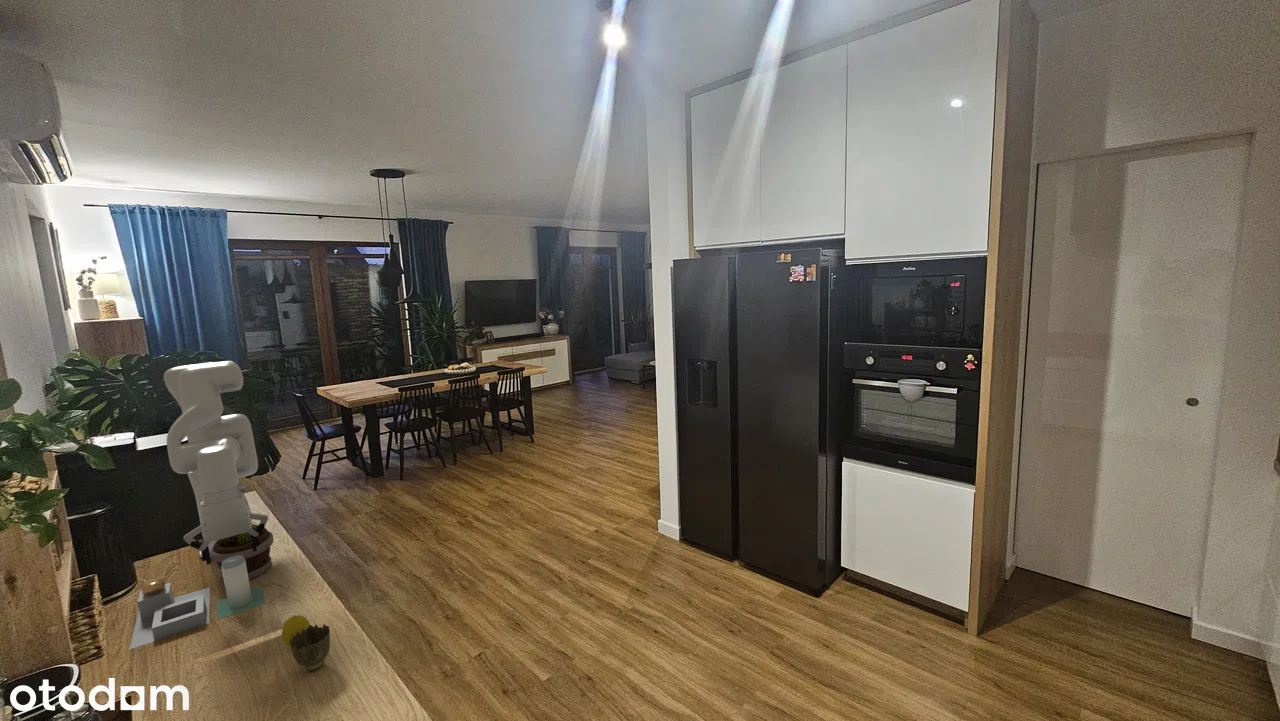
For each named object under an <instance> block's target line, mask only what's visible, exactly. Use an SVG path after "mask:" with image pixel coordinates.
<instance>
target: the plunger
mask: <svg viewBox="0 0 1280 721" xmlns="http://www.w3.org/2000/svg"><path fill="white" fill-rule="evenodd" d="M165 582H166V581H165V578H163V577H159V578H158V577H157V578H152V579H151V580H148V581H145V582H144V583H143V584H141V585H140V587H141V591H142V593H143V595H153V594H156V593H159V592H160V591H162V590H163V589H164V588H165V584H166V583H165Z"/></svg>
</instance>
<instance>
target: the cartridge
mask: <svg viewBox="0 0 1280 721" xmlns="http://www.w3.org/2000/svg"><path fill="white" fill-rule="evenodd" d="M221 569H222V574H223V579H224V580H223V583H224V588H225V589H224V590H225V593H226V594H225V595H226V598H227V600H228V605H229V607H230V608H237V607H241V606H244V605H246V604H247V603H249V602H250V601H251V600H252V594H251V590H252V588H251V585H250V584H251V583H250V579H249V578H248V573H247V567H246V562H245V559H244V557H243V556H242V555H237V556H233V557H230V558H227V559H225V560H224V561H223V562H222V566H221ZM221 569H220V570H221Z"/></svg>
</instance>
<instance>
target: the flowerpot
mask: <svg viewBox="0 0 1280 721" xmlns="http://www.w3.org/2000/svg"><path fill="white" fill-rule="evenodd" d="M252 526H254V527H255V528H256V527H257V526H258V524H257V522H253V523H252ZM258 540H259V546H257V547H256V548H257V551H253V545H252V539H251V534H249V533H247V532H246V533H243V534H239V535H235V536H231V537H228V538H224V539H220V540H218V541H217V542H216V543H215V544H214V546H213V547H212V549H211V551H210V556H211V561H213V562H214V563H216V564H217V566H218V568H219V569H220V573H219V574H220V579H221V580H222V581H224V579H223V574H222V569H221V566H222V562H223V561H224V560H225V559H227V558H230V557H233V556H237V555H242V556H243V557H244V559H245V562H246V567H247V573H248V578H249V580H252V579H254V578H256V577H258V576H259V577H260V575H262V574H264V573H266V571H268V570H269V569H270V567H271V566H272V557H271V556H270V555H271V546H272V545H273V543H274V534H273V533H272V531H269V530H267V528H266V527H264V529H263V530H262V531H261V532H260V533H259V535H258Z"/></svg>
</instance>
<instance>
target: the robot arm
mask: <svg viewBox="0 0 1280 721" xmlns="http://www.w3.org/2000/svg"><path fill="white" fill-rule="evenodd" d="M163 381H164V383H165V387H166V388H167V391H168V392H169V393H170V394H171V396H172V397H173V398H174V400H176V402H177V403H178V405H179V407H180V410H181V412H182V413H181V415H180V416H179V417H177V419H176V420H174V421H173V424H172V425H171V426H170V429H169V430H168V433H167V435H166V448H167V454H168V460H169V464H170V467H171V469H172V471H173V472H175V473H177V474H180V475H181V474H182V475H185V474H187V476H188V479H189V481H190V485H191V486H192V490H193V492H194V496H195V501H196V506H197V511H198V516H199V523H200V525H198V526H197V527H195V528H194V529H192V530H190V531H189V532H188V533H186V534H185V535H184V536H183V541H184V542H185V543H187V544H188V545H189V546H190V547H192V548H193V549H195V550H198V551H199V557H200V558H202V562H206V565H211V563H212V562H211V561H212V559H211V556H210V551H211V549H212V547H213V546H214V544H215V543H216V542H217V541H218V540H220V539H224V538H228V537H231V536H235V535H239V534H243V533H246V532H247V533H249V534H251V539H252V545H253V551H257V548H256V547H257V546H259V540H258V535H259V533H260V532H261V531H262V530H263V529H264V528H266V524H267V522H268V520H269V515H268V514H263V513H262V514H261V513H255V512H251V509H250V507H249V501H248V499H247V496H246V494H245V493H244V492H243V491H245V490H247V489H248V488H247V484H245V483H244V484H241V483H239V479H240V478H245V477H248V476H252V475H254V474H255V473H257V471H258V468H259V460H258V454H257V451H256V450H257V449H256V445H255V438H254V433H253V430H252V424H251V422H250V419H249V418H248V417H247V415H245V414H243V413H234V414H233V413H231V414H227V415H226V414H225V415H223V412H224V405H223V401H222V397H221V394H222V393H228V392H229V393H230V392H236V391H240V390H242V388H243V385H244V375H243V372H242V370H241V368H240V366H239V365H238V364H237V362H235V361H233V360H224V361H214V362H213V361H212V362H205V363H195V364H194V363H193V364H187V365H185V364H184V365H179V366H175V367H171V368H169V369H167V370H166V371H165V372H164V373H163ZM185 438H187V442H188V443H183V444H182V441H183V440H184V439H185ZM253 520H255V521H259V523H258V524H257V527H256V528H255V527H254V526H252V524H253V522H252V521H253ZM200 533H201V535H202V539H201V541H200V540H198V539H197V540H196V539H195V538H194V537H196V536H197V535H198V534H200Z"/></svg>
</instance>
